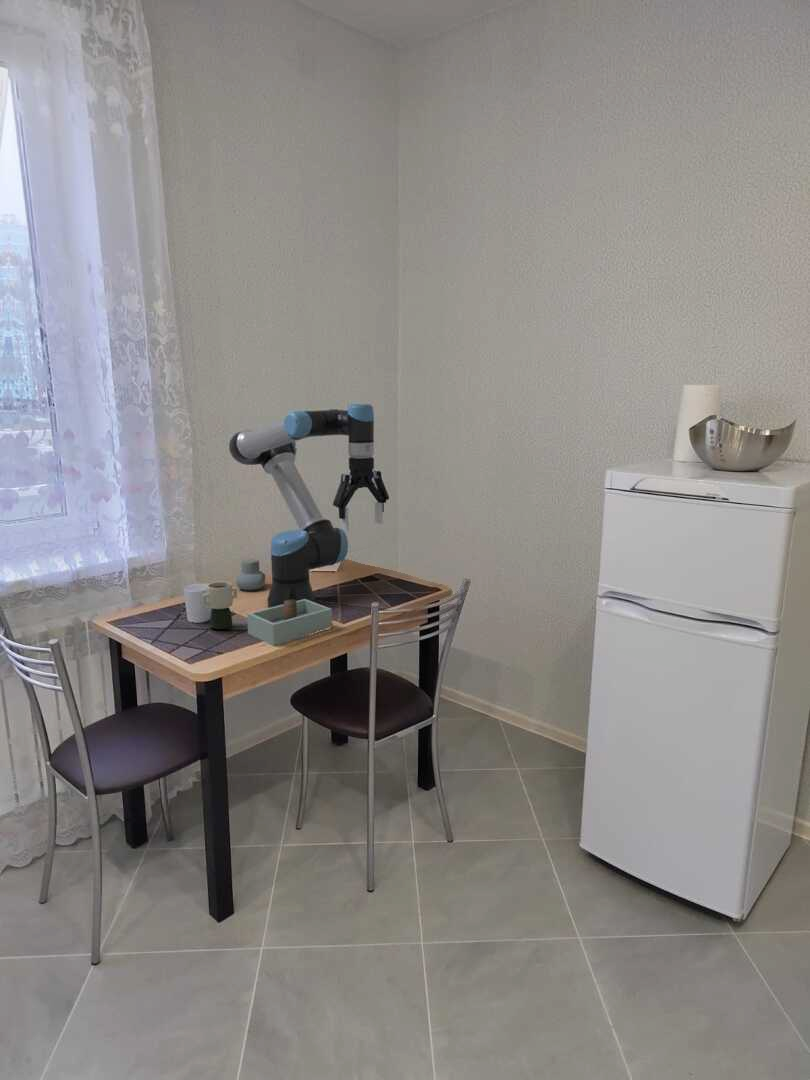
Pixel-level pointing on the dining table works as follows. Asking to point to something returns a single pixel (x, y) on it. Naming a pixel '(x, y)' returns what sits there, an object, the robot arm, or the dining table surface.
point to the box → (288, 622)
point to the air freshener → (250, 575)
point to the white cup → (196, 603)
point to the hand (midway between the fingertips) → (362, 526)
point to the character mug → (220, 603)
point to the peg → (290, 609)
